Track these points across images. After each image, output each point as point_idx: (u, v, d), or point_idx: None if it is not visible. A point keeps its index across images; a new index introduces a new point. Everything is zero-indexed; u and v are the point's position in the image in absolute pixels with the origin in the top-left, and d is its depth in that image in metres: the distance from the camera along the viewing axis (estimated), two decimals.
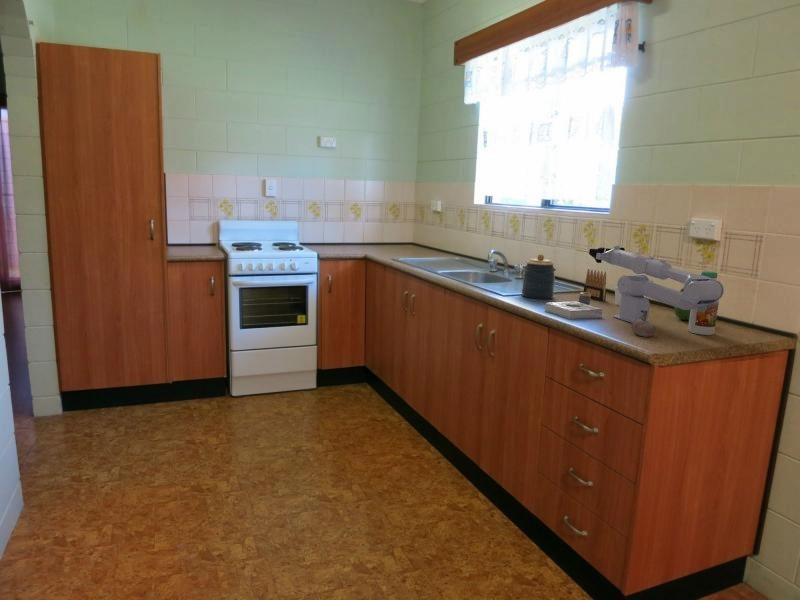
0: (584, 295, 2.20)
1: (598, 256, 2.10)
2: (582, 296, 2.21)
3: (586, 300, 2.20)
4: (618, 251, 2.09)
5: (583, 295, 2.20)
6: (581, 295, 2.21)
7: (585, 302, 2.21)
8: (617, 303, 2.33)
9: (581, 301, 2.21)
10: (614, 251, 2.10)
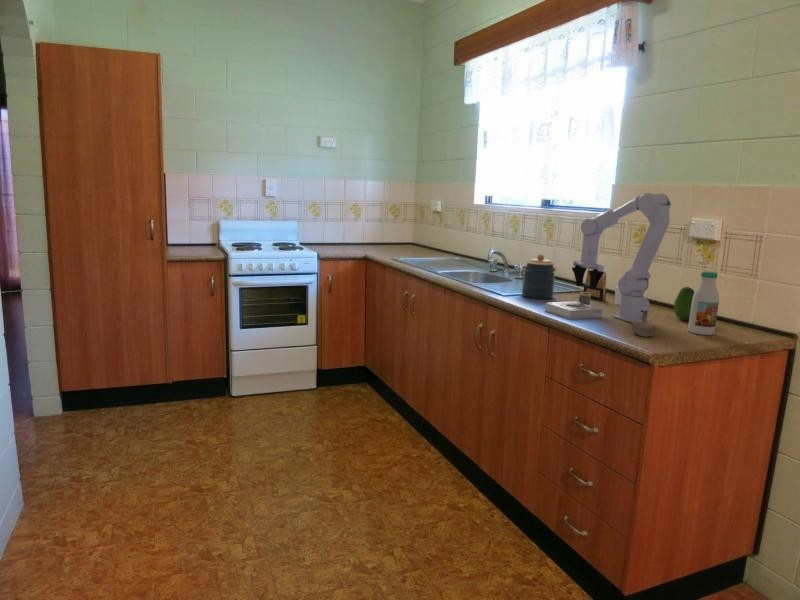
0: (584, 295, 2.20)
1: (601, 268, 2.13)
2: (582, 296, 2.21)
3: (586, 300, 2.20)
4: (586, 257, 2.17)
5: (583, 295, 2.20)
6: (581, 295, 2.21)
7: (585, 302, 2.21)
8: (617, 303, 2.33)
9: (581, 301, 2.21)
10: (587, 261, 2.17)
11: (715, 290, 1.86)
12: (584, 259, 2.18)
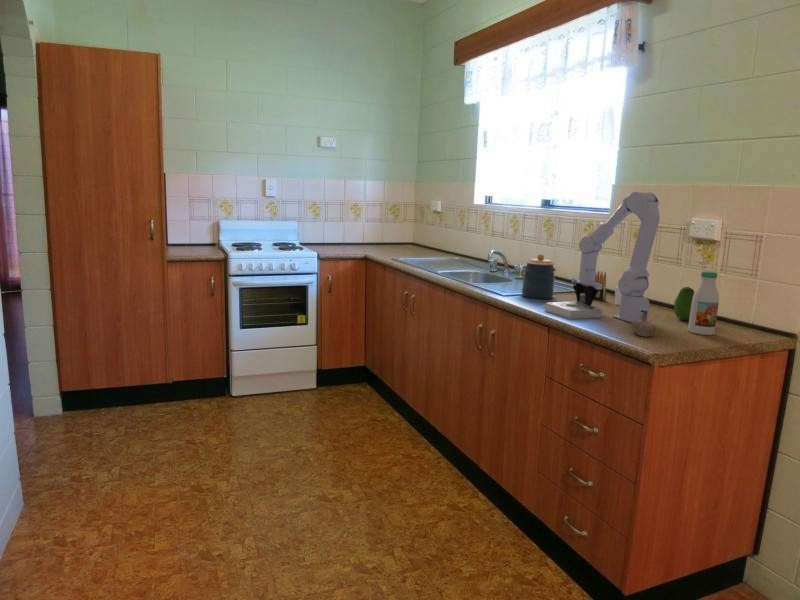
0: (584, 295, 2.20)
1: (600, 286, 2.15)
2: (582, 296, 2.21)
3: None
4: (584, 275, 2.18)
5: (583, 295, 2.20)
6: (581, 295, 2.21)
7: None
8: (617, 303, 2.33)
9: (581, 301, 2.21)
10: (585, 279, 2.18)
11: (715, 290, 1.86)
12: (582, 277, 2.19)
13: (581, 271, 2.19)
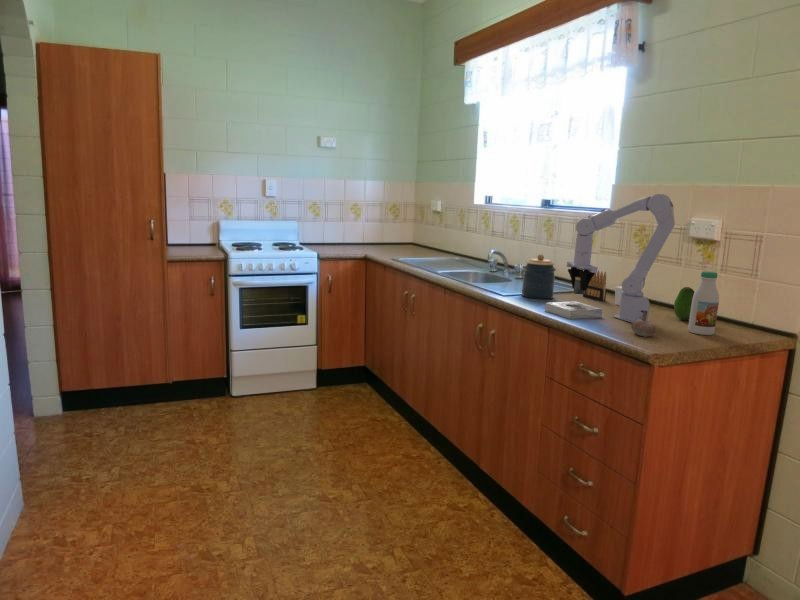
0: (580, 279, 2.12)
1: (595, 269, 2.07)
2: (578, 280, 2.13)
3: None
4: (579, 258, 2.10)
5: (578, 279, 2.12)
6: (576, 279, 2.13)
7: None
8: (617, 303, 2.33)
9: (576, 285, 2.13)
10: (580, 262, 2.10)
11: (715, 290, 1.86)
12: (577, 260, 2.11)
13: (576, 254, 2.11)
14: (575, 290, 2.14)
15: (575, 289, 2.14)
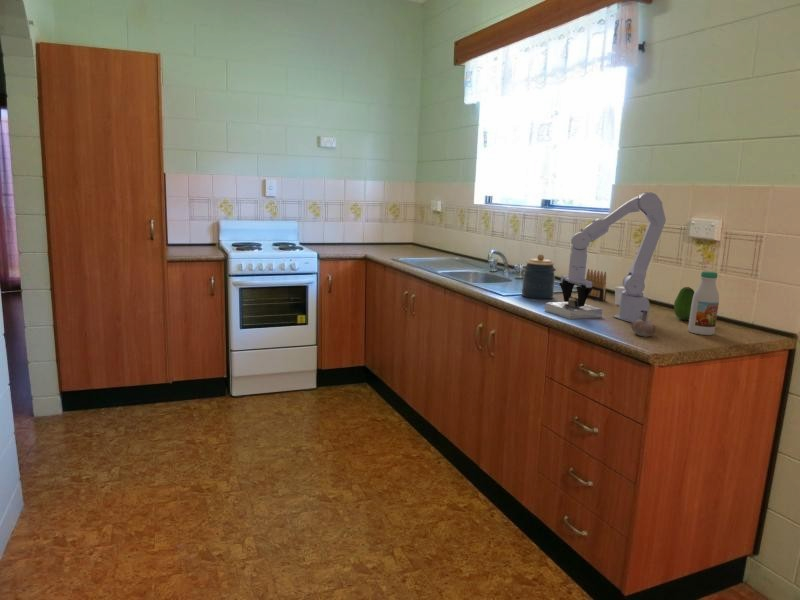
0: (573, 300, 2.10)
1: (590, 284, 2.03)
2: (571, 301, 2.10)
3: (575, 305, 2.10)
4: (574, 272, 2.07)
5: (572, 300, 2.10)
6: (570, 300, 2.10)
7: None
8: (617, 303, 2.33)
9: (570, 306, 2.11)
10: (575, 277, 2.07)
11: (715, 290, 1.86)
12: (572, 274, 2.08)
13: (570, 268, 2.08)
14: None
15: None
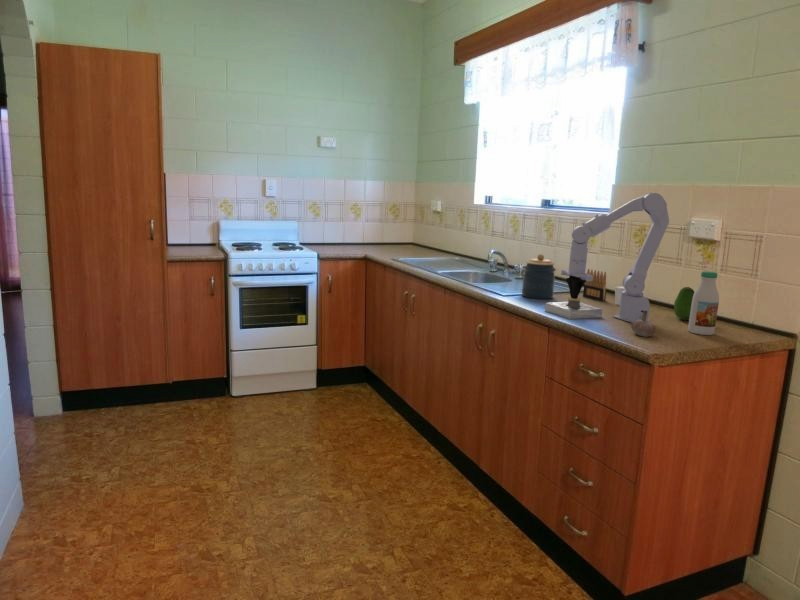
0: (573, 300, 2.10)
1: (590, 277, 2.03)
2: (571, 301, 2.10)
3: (575, 305, 2.10)
4: (574, 266, 2.07)
5: (572, 300, 2.10)
6: (570, 300, 2.10)
7: None
8: (617, 303, 2.33)
9: (570, 306, 2.11)
10: (575, 270, 2.07)
11: (715, 290, 1.86)
12: (572, 268, 2.07)
13: (571, 262, 2.08)
14: None
15: None
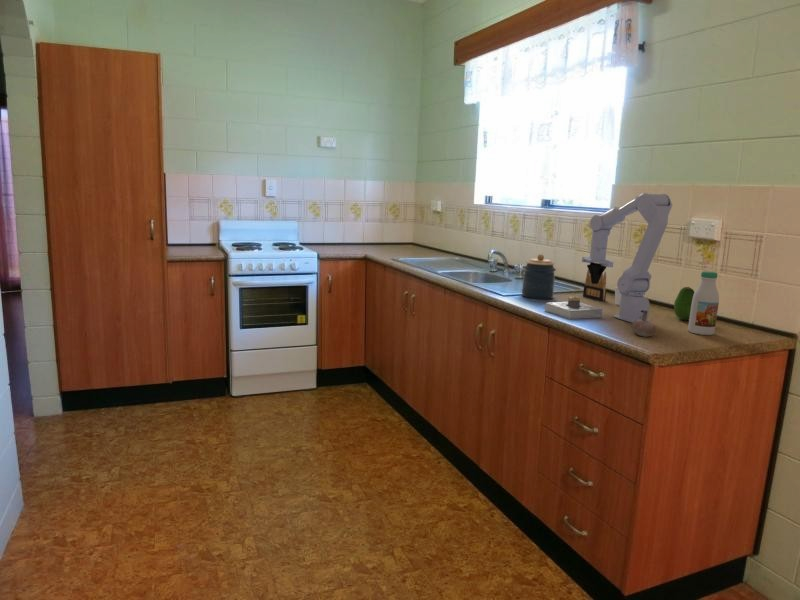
0: (573, 300, 2.10)
1: (611, 264, 2.15)
2: (571, 301, 2.10)
3: (575, 305, 2.10)
4: (595, 253, 2.19)
5: (572, 300, 2.10)
6: (570, 300, 2.10)
7: None
8: (617, 303, 2.33)
9: (570, 306, 2.10)
10: (596, 257, 2.19)
11: (715, 290, 1.86)
12: (593, 255, 2.19)
13: (592, 249, 2.20)
14: None
15: None
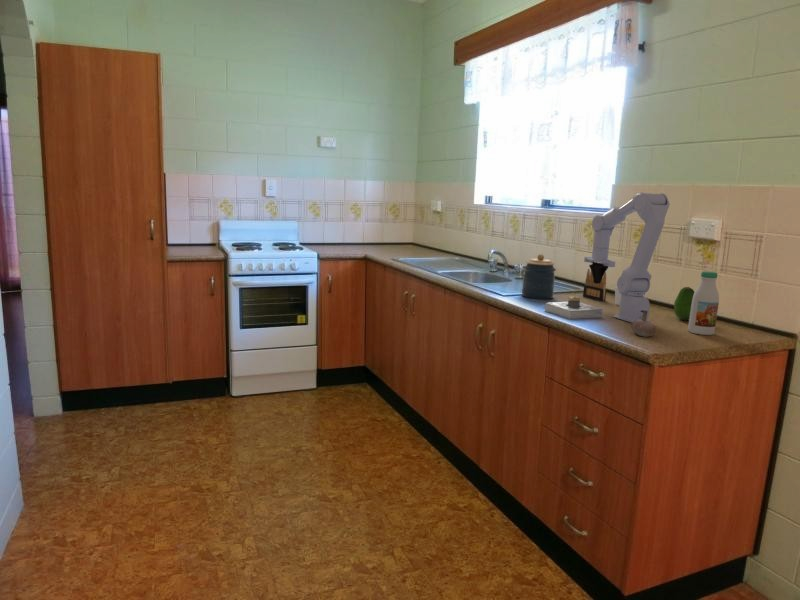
0: (573, 300, 2.09)
1: (613, 263, 2.16)
2: (571, 301, 2.10)
3: (575, 305, 2.10)
4: (597, 253, 2.20)
5: (572, 300, 2.10)
6: (570, 300, 2.10)
7: None
8: (617, 303, 2.33)
9: (570, 306, 2.10)
10: (598, 257, 2.20)
11: (715, 290, 1.86)
12: (595, 255, 2.21)
13: (594, 249, 2.21)
14: None
15: None
